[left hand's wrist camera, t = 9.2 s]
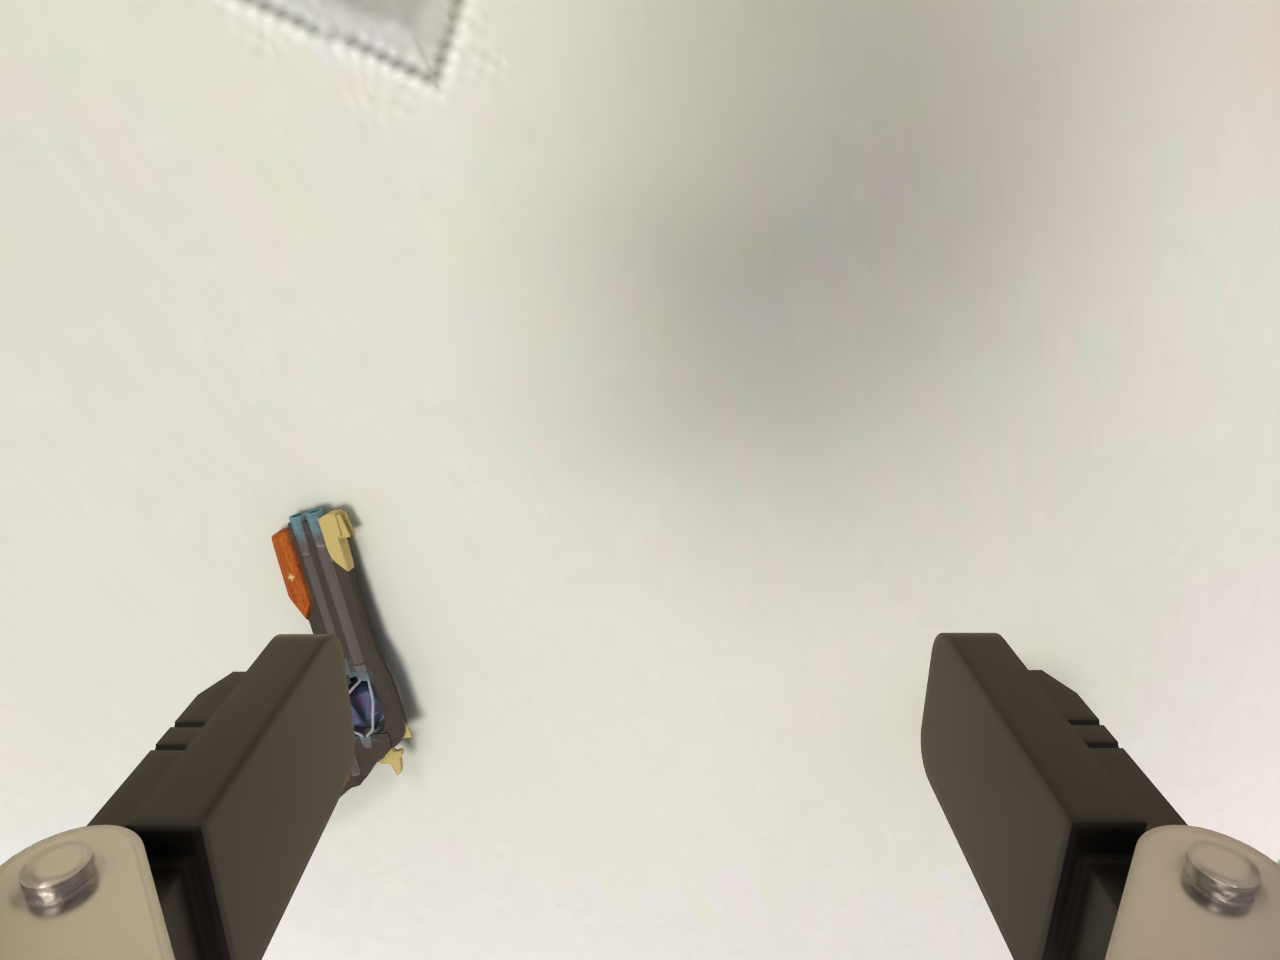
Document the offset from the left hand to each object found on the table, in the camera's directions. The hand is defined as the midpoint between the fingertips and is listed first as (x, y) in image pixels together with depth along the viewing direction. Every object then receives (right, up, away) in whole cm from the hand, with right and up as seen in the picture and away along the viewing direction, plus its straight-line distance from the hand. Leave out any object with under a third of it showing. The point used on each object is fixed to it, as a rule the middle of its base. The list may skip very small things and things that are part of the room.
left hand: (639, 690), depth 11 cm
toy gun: (-18, -8, +37) cm, 42 cm away
